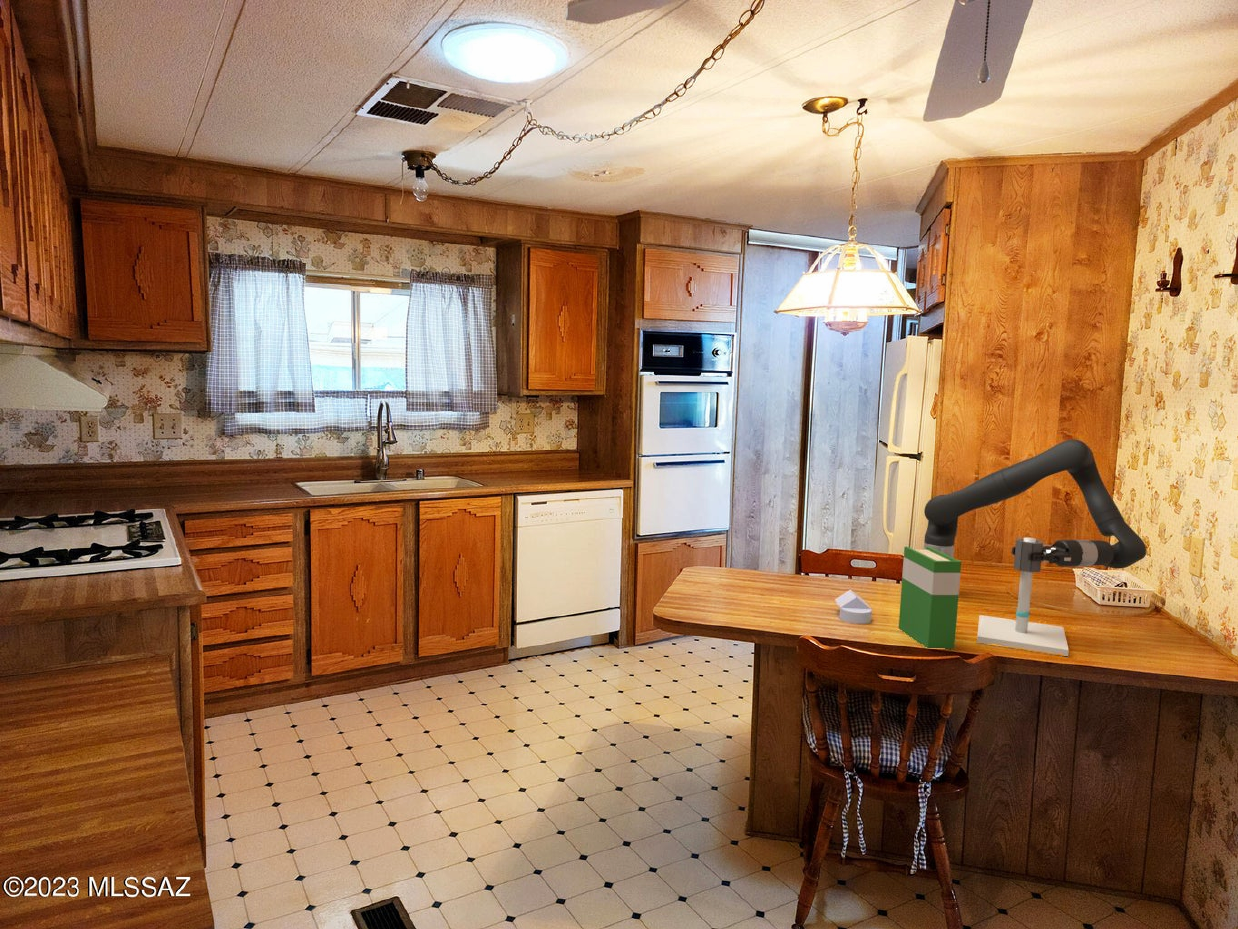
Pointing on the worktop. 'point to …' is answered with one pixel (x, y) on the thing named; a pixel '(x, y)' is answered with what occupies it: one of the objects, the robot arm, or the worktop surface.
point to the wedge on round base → (853, 608)
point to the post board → (1022, 639)
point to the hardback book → (930, 597)
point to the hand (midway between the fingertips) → (1021, 553)
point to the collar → (1023, 552)
